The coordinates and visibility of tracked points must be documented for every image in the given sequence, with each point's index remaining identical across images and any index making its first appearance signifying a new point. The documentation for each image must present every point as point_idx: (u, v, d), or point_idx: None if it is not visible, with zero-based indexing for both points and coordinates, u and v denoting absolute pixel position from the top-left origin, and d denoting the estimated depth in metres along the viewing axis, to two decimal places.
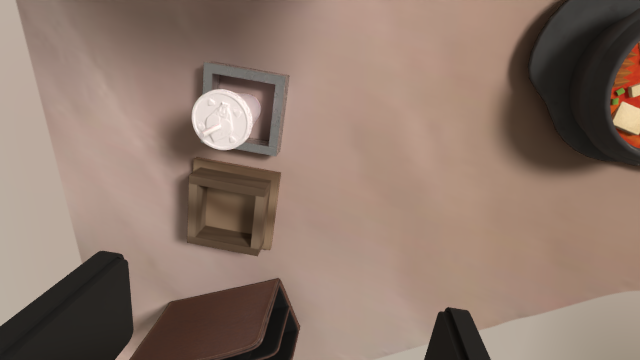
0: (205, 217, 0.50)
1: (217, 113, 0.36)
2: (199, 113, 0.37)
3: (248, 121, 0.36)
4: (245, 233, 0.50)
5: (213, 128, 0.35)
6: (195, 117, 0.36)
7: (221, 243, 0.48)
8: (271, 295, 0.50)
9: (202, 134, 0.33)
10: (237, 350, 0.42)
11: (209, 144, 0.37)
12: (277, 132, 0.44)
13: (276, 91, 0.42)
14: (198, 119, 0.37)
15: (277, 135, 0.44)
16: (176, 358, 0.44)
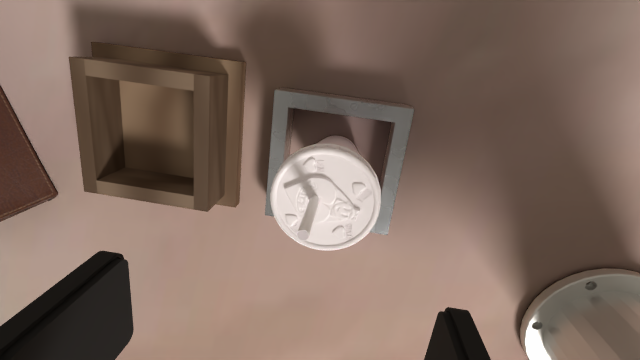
0: None
1: (339, 200, 0.19)
2: (336, 162, 0.19)
3: (326, 249, 0.21)
4: (123, 148, 0.29)
5: None
6: (329, 156, 0.19)
7: (88, 127, 0.25)
8: (16, 208, 0.29)
9: (305, 235, 0.16)
10: None
11: (278, 177, 0.19)
12: None
13: None
14: (325, 160, 0.19)
15: None
16: None
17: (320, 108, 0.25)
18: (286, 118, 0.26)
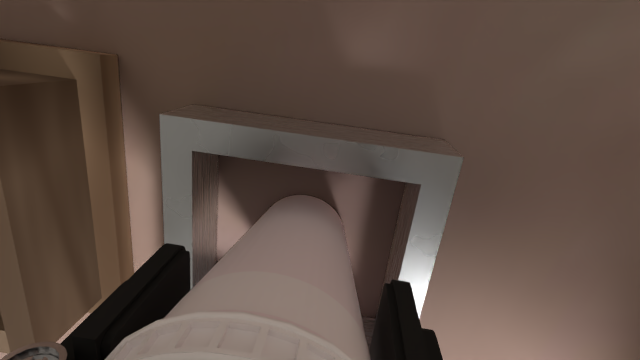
0: None
1: None
2: None
3: None
4: None
5: None
6: None
7: None
8: None
9: None
10: None
11: None
12: None
13: None
14: None
15: None
16: None
17: (259, 153, 0.12)
18: (190, 173, 0.12)
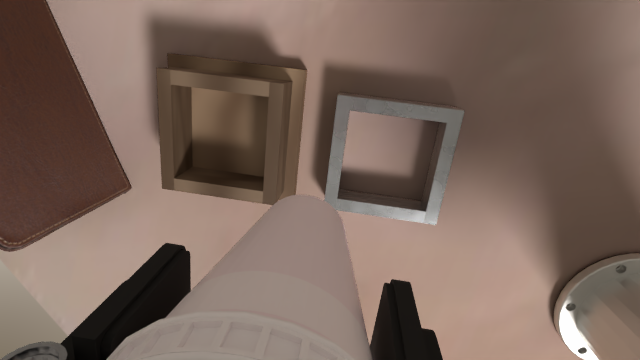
0: None
1: None
2: None
3: None
4: (191, 149, 0.32)
5: None
6: None
7: (169, 130, 0.28)
8: (102, 200, 0.32)
9: None
10: None
11: None
12: (358, 211, 0.31)
13: (416, 212, 0.30)
14: None
15: (354, 211, 0.31)
16: None
17: (378, 111, 0.28)
18: (347, 120, 0.28)
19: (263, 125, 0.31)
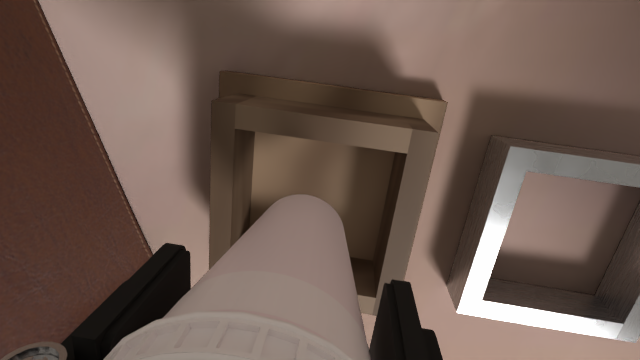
0: None
1: None
2: None
3: None
4: (249, 217, 0.21)
5: None
6: None
7: (227, 202, 0.17)
8: None
9: None
10: None
11: None
12: (512, 319, 0.20)
13: (607, 324, 0.19)
14: None
15: (505, 318, 0.20)
16: None
17: (577, 173, 0.17)
18: (519, 186, 0.17)
19: (367, 185, 0.20)
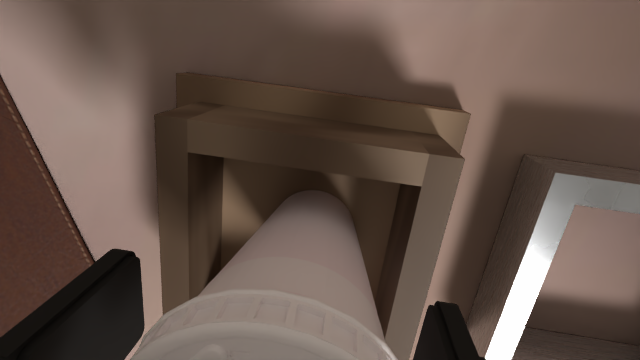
0: None
1: None
2: (289, 352, 0.06)
3: None
4: (220, 254, 0.17)
5: None
6: (265, 345, 0.06)
7: (183, 246, 0.13)
8: None
9: None
10: None
11: None
12: None
13: None
14: (255, 354, 0.06)
15: None
16: None
17: None
18: (564, 223, 0.13)
19: (367, 216, 0.16)
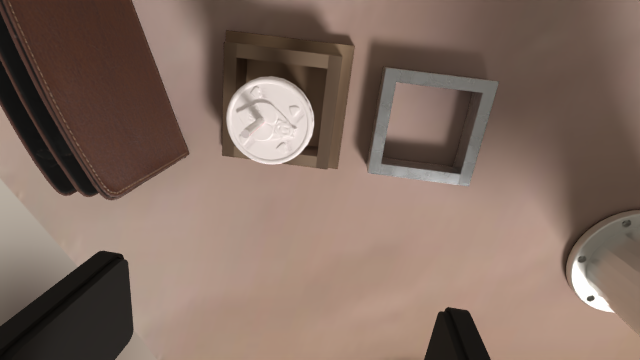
0: None
1: (279, 121, 0.25)
2: (276, 90, 0.24)
3: (273, 163, 0.26)
4: None
5: (257, 129, 0.23)
6: (270, 84, 0.24)
7: None
8: (170, 161, 0.34)
9: (247, 134, 0.21)
10: (91, 169, 0.24)
11: (232, 104, 0.25)
12: (399, 175, 0.34)
13: (451, 175, 0.34)
14: (267, 88, 0.24)
15: (395, 175, 0.34)
16: (35, 38, 0.22)
17: (422, 82, 0.31)
18: (393, 91, 0.32)
19: (313, 97, 0.34)
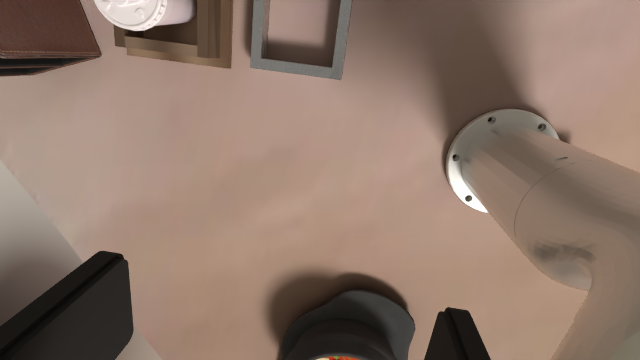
0: None
1: None
2: None
3: (133, 28, 0.30)
4: None
5: None
6: None
7: None
8: (74, 52, 0.38)
9: None
10: None
11: None
12: (278, 69, 0.38)
13: (324, 68, 0.37)
14: None
15: (275, 69, 0.38)
16: None
17: None
18: None
19: None
